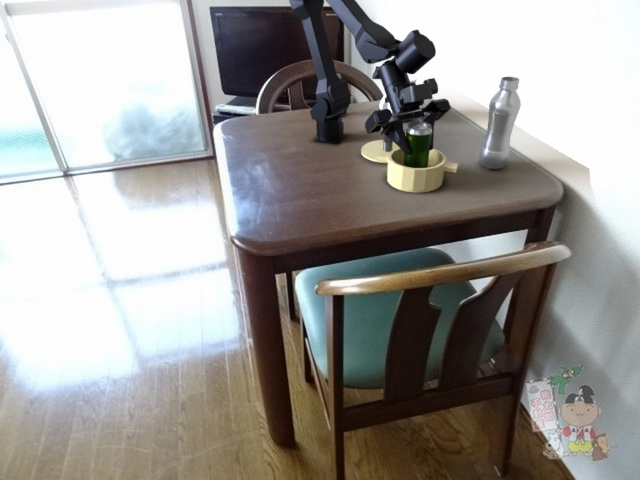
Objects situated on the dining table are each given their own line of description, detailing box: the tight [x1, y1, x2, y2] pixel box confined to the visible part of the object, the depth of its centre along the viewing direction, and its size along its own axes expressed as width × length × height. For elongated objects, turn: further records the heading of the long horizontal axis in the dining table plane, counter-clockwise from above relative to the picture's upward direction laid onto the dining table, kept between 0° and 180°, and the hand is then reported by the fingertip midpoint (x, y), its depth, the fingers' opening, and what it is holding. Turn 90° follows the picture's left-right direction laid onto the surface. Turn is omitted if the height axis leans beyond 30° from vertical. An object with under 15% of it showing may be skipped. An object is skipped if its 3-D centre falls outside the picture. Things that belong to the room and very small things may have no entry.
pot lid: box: [360, 135, 399, 164], centre depth 108 cm, size 13×13×6 cm
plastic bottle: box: [478, 76, 522, 170], centre depth 96 cm, size 6×7×20 cm
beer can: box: [403, 121, 432, 168], centre depth 95 cm, size 5×5×12 cm
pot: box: [376, 148, 459, 194], centre depth 97 cm, size 12×18×6 cm
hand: (420, 152), depth 93 cm, fingers closed on beer can, 5 cm apart
